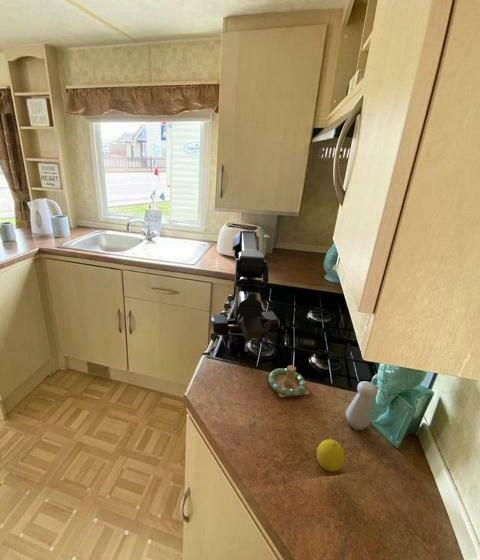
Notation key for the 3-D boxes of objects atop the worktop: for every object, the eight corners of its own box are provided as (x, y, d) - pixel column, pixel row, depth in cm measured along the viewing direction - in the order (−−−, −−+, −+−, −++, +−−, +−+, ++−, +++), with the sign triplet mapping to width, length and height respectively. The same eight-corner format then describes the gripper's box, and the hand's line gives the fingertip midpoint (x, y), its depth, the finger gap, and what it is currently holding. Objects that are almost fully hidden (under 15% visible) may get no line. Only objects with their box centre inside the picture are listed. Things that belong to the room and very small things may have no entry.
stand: (268, 377, 97) (271, 359, 94) (295, 374, 98) (299, 356, 95) (279, 399, 89) (283, 380, 86) (309, 396, 90) (313, 377, 87)
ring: (263, 373, 97) (263, 368, 96) (295, 370, 98) (296, 365, 98) (276, 399, 87) (277, 394, 87) (311, 395, 89) (313, 390, 88)
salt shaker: (372, 433, 79) (387, 395, 74) (349, 432, 79) (362, 394, 74) (361, 414, 84) (374, 377, 79) (340, 414, 84) (351, 376, 79)
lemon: (308, 458, 73) (315, 434, 69) (329, 453, 74) (337, 429, 70) (323, 482, 68) (331, 457, 64) (345, 476, 69) (354, 451, 66)
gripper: (220, 317, 76) (216, 368, 82) (292, 313, 78) (283, 362, 85) (210, 296, 85) (208, 342, 92) (275, 292, 88) (268, 338, 95)
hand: (241, 346), depth 91 cm, fingers open, 9 cm apart
